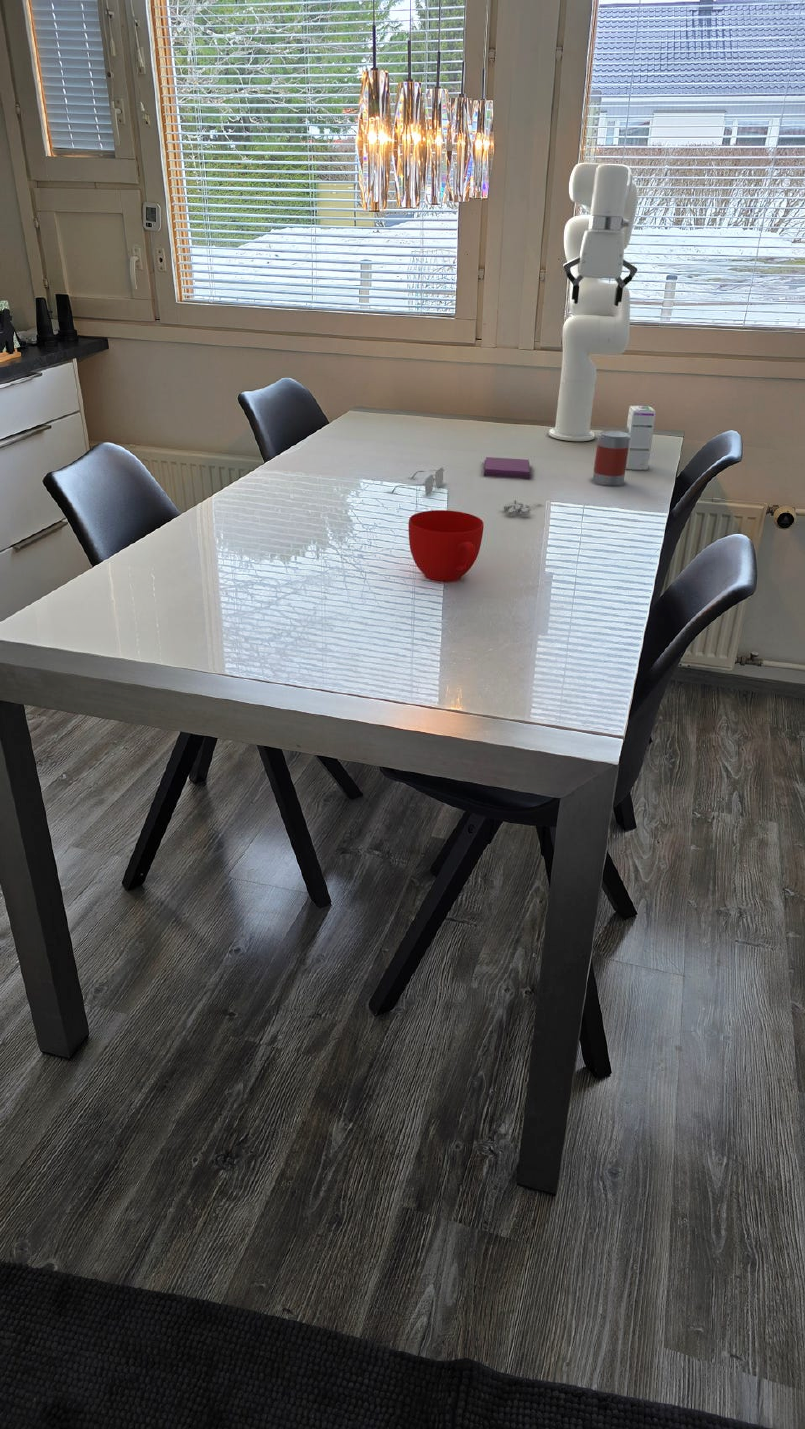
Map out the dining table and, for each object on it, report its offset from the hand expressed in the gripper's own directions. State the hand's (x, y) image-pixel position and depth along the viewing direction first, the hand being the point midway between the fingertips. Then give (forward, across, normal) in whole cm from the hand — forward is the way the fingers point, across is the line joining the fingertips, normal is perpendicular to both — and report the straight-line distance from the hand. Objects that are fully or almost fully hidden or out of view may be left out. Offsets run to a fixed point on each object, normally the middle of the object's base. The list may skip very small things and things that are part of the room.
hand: (595, 304), depth 240 cm
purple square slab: (+37, +18, +18) cm, 45 cm away
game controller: (+37, +14, +51) cm, 65 cm away
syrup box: (+37, -14, +6) cm, 40 cm away
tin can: (+37, -6, +22) cm, 43 cm away
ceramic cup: (+37, +28, +96) cm, 106 cm away
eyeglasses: (+37, +38, +38) cm, 65 cm away
